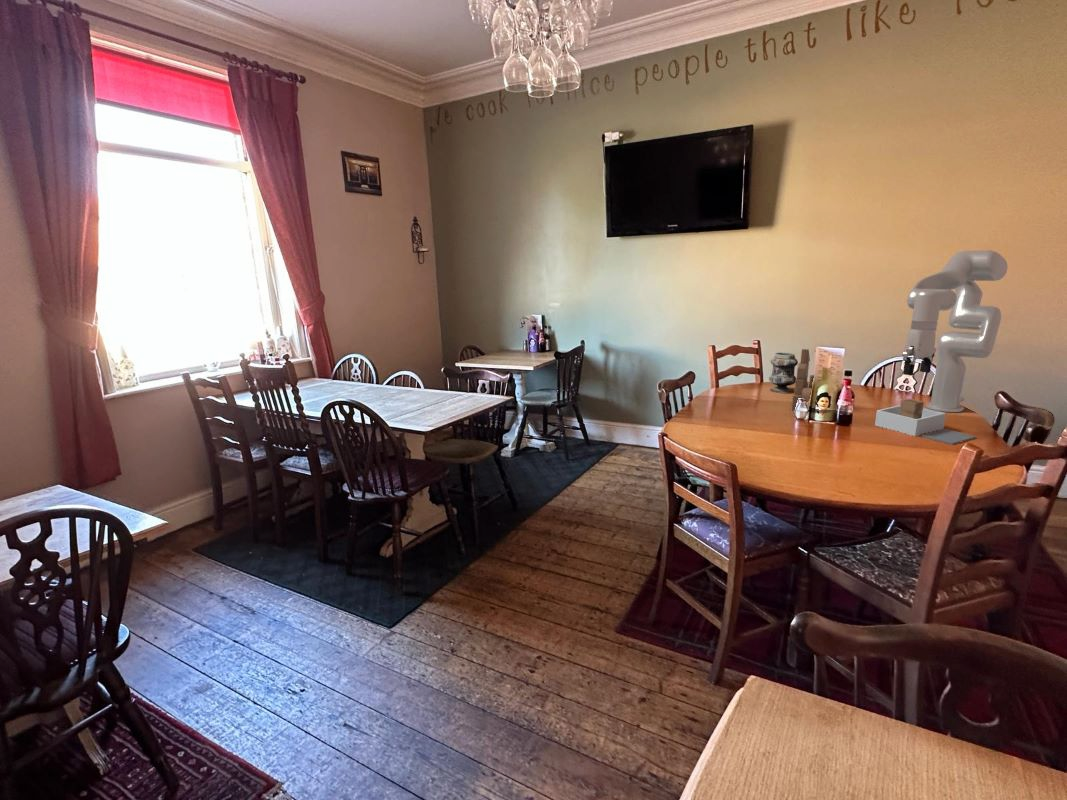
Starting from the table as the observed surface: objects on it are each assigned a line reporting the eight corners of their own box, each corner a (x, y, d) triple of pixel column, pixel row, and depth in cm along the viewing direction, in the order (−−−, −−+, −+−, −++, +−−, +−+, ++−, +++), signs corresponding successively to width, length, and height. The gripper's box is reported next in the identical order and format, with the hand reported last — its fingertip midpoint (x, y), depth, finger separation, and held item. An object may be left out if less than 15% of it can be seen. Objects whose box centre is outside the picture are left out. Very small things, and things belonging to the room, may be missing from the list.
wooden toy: (809, 412, 224) (815, 352, 217) (791, 410, 227) (797, 351, 221) (815, 403, 236) (821, 347, 229) (799, 402, 239) (804, 346, 233)
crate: (902, 418, 211) (905, 404, 210) (943, 428, 198) (946, 413, 197) (874, 425, 205) (876, 410, 203) (914, 436, 192) (917, 420, 190)
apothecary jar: (799, 389, 260) (802, 352, 255) (790, 395, 251) (793, 356, 247) (773, 386, 268) (776, 350, 263) (763, 391, 259) (766, 354, 255)
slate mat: (944, 430, 197) (945, 428, 197) (976, 438, 188) (976, 436, 188) (920, 436, 191) (921, 435, 191) (951, 444, 182) (952, 443, 182)
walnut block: (906, 419, 204) (909, 398, 202) (920, 422, 200) (923, 401, 198) (898, 421, 202) (901, 400, 200) (912, 424, 198) (915, 403, 196)
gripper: (927, 323, 199) (920, 369, 203) (897, 326, 192) (890, 374, 196) (950, 325, 192) (942, 372, 196) (919, 328, 185) (912, 377, 189)
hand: (916, 373), depth 196 cm, fingers open, 9 cm apart
